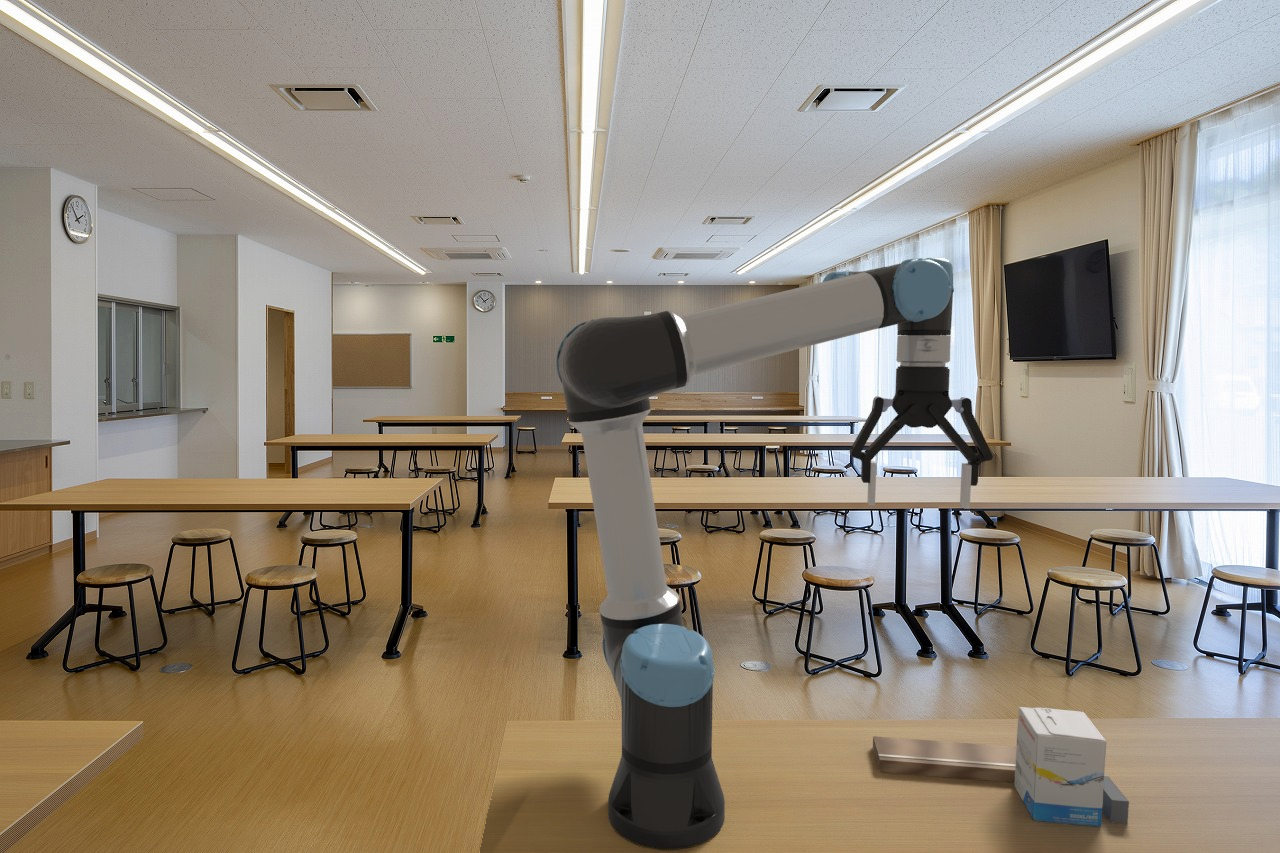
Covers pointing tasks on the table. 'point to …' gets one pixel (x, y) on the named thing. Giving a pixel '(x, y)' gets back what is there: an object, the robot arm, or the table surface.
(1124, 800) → the block
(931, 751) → the board
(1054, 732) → the ink box
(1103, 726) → the table surface
